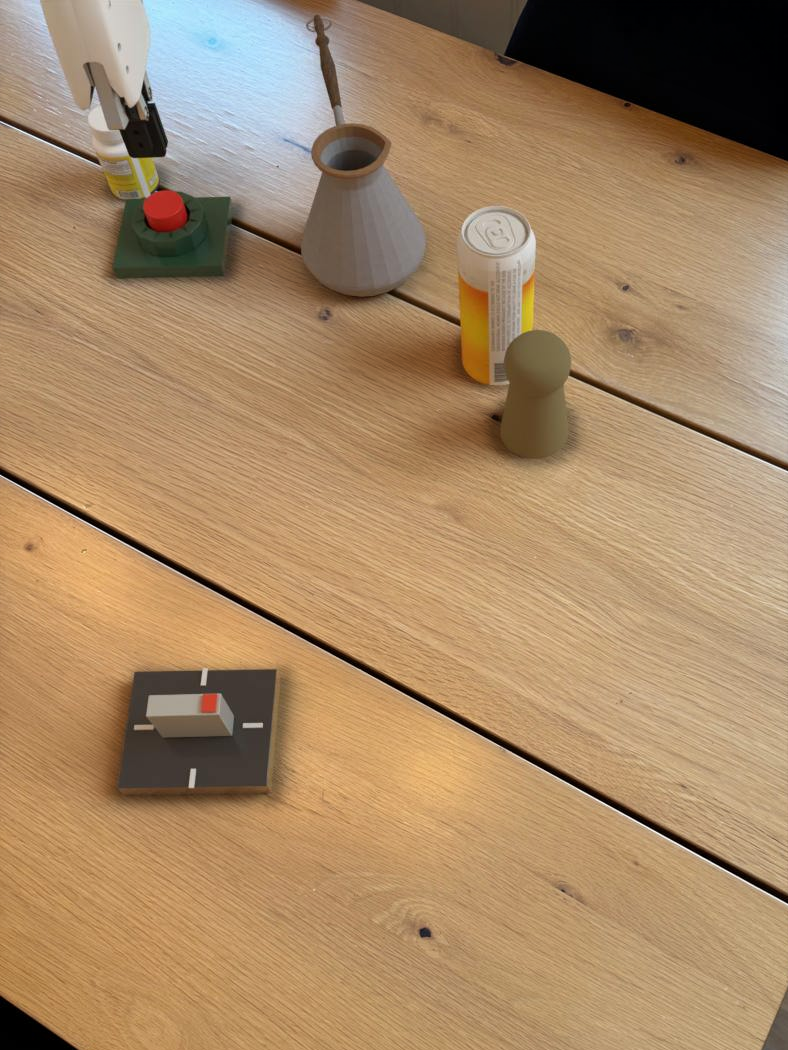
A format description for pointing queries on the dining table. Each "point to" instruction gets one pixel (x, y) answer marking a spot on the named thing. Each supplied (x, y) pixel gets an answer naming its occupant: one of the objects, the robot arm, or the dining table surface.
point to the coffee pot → (357, 205)
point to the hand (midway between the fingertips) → (149, 150)
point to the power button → (165, 211)
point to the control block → (175, 241)
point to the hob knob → (190, 715)
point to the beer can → (494, 288)
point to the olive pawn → (536, 395)
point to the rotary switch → (203, 759)
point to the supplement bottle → (121, 162)
